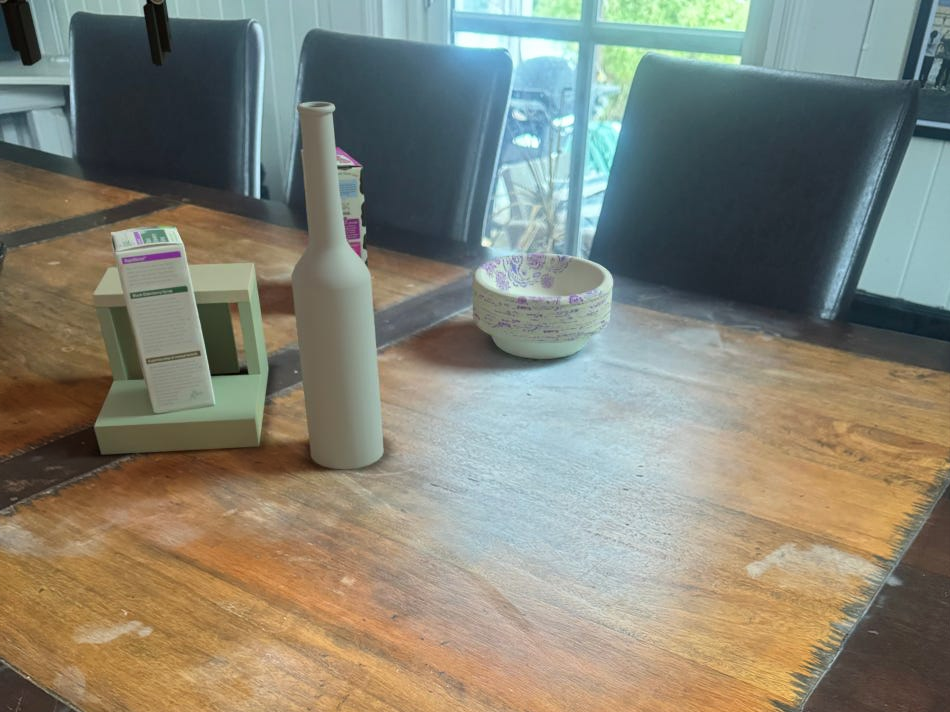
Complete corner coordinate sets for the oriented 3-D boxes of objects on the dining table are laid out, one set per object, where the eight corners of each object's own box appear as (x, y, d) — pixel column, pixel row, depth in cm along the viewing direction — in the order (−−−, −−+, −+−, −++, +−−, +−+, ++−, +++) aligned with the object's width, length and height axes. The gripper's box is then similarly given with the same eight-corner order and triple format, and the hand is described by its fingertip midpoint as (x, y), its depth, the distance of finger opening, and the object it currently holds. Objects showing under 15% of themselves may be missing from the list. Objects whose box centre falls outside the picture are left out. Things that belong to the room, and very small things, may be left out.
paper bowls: (534, 383, 98) (538, 307, 93) (445, 340, 107) (444, 269, 102) (635, 348, 106) (643, 276, 101) (544, 311, 115) (547, 243, 110)
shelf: (101, 457, 85) (68, 335, 78) (133, 376, 99) (108, 267, 92) (259, 448, 86) (240, 328, 79) (269, 370, 100) (253, 262, 93)
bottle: (372, 433, 89) (347, 94, 72) (392, 464, 84) (371, 109, 67) (303, 444, 87) (261, 99, 70) (320, 477, 82) (279, 115, 65)
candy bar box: (373, 313, 114) (364, 164, 104) (333, 318, 113) (319, 168, 102) (350, 284, 122) (339, 144, 112) (312, 289, 121) (297, 147, 111)
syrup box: (217, 406, 86) (188, 240, 77) (151, 416, 85) (113, 248, 76) (207, 382, 91) (178, 222, 82) (144, 391, 89) (107, 229, 80)
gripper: (-124, -247, 59) (-34, 71, 69) (161, -237, 60) (205, 71, 71) (-82, -236, 65) (-6, 56, 75) (177, -227, 66) (215, 57, 77)
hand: (97, 63), depth 73 cm, fingers open, 9 cm apart
